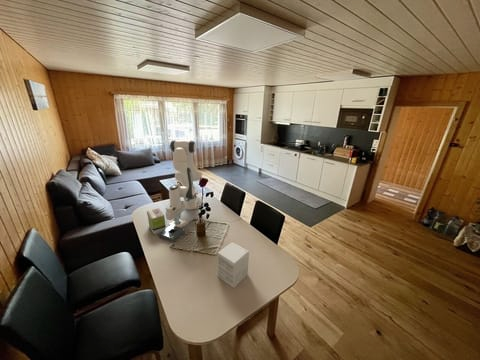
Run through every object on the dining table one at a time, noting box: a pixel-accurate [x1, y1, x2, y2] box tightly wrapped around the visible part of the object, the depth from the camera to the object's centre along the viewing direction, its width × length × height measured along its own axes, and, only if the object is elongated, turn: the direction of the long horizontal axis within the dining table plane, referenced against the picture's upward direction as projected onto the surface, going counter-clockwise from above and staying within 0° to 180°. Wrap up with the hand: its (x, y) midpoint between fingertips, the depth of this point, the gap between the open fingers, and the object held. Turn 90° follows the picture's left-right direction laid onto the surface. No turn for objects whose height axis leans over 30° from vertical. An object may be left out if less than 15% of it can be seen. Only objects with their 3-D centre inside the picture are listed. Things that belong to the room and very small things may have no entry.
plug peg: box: [175, 214, 180, 225], centre depth 164 cm, size 4×4×12 cm
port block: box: [158, 225, 186, 244], centre depth 151 cm, size 14×14×5 cm
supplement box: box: [217, 241, 250, 289], centre depth 113 cm, size 13×13×18 cm
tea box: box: [146, 207, 167, 235], centre depth 158 cm, size 15×10×15 cm
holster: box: [168, 218, 187, 228], centre depth 165 cm, size 10×10×3 cm
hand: (177, 219), depth 164 cm, fingers closed on plug peg, 4 cm apart
